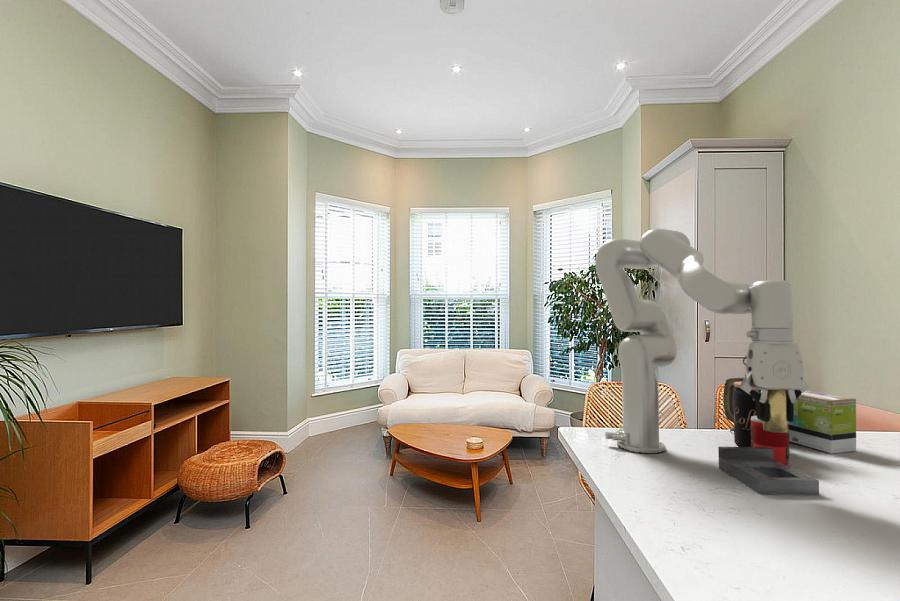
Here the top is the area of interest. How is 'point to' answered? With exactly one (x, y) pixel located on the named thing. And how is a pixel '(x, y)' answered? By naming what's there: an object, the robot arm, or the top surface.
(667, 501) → the top surface
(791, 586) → the top surface
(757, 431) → the canned food
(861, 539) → the top surface
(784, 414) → the pale yellow cylinder
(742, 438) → the coffee jar
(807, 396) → the tea box
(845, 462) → the top surface
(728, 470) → the frame
